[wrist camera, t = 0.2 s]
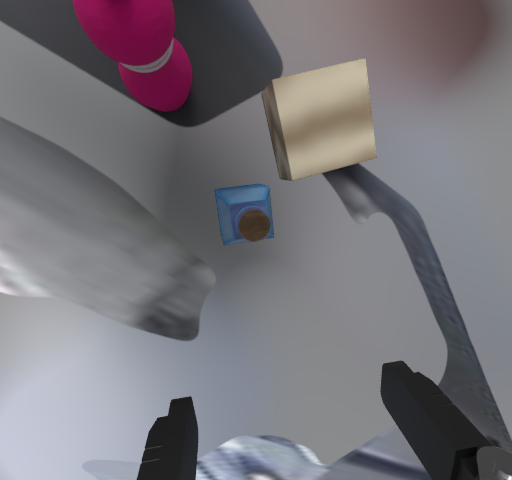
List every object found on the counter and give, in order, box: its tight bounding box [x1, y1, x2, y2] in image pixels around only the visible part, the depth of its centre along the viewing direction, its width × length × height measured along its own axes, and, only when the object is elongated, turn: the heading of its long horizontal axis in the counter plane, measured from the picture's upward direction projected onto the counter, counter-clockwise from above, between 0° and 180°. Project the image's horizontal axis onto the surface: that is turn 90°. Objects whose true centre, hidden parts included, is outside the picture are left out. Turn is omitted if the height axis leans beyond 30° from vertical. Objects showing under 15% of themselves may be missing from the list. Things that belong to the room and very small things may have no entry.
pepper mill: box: [73, 0, 193, 112], centre depth 23 cm, size 7×7×20 cm
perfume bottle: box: [215, 184, 274, 245], centre depth 33 cm, size 6×6×12 cm
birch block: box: [261, 58, 377, 181], centre depth 35 cm, size 11×11×6 cm
